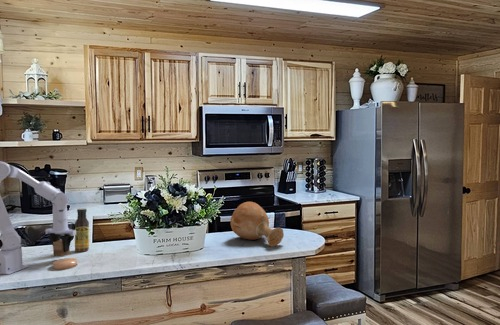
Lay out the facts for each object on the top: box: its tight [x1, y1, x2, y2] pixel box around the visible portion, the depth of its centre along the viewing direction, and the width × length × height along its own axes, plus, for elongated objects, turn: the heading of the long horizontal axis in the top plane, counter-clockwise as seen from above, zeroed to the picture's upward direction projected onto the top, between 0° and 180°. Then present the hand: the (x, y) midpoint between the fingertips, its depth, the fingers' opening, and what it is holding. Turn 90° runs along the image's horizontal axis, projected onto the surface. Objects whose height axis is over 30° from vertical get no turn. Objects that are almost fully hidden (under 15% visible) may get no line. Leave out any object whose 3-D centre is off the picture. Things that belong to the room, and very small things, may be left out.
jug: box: [230, 201, 284, 247], centre depth 198 cm, size 20×19×30 cm
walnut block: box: [52, 239, 71, 258], centre depth 171 cm, size 4×4×6 cm
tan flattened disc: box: [52, 257, 78, 271], centre depth 164 cm, size 9×9×2 cm
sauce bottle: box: [74, 207, 90, 253], centre depth 186 cm, size 6×6×20 cm
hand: (61, 250), depth 171 cm, fingers closed on walnut block, 4 cm apart
